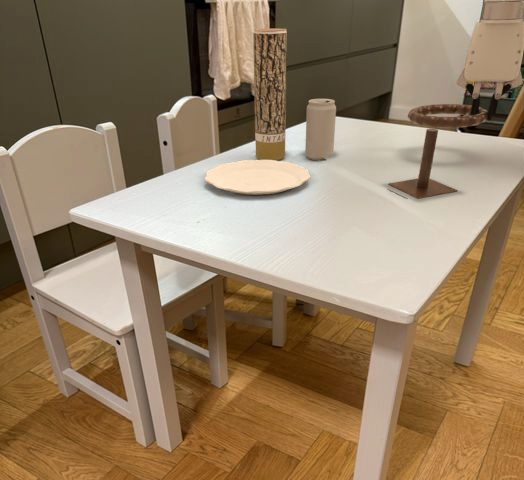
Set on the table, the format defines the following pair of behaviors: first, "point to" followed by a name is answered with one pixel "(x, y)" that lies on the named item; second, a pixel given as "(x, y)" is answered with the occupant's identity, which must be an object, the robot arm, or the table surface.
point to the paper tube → (270, 92)
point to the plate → (257, 176)
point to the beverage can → (320, 129)
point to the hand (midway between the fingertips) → (481, 118)
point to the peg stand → (424, 174)
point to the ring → (422, 118)
